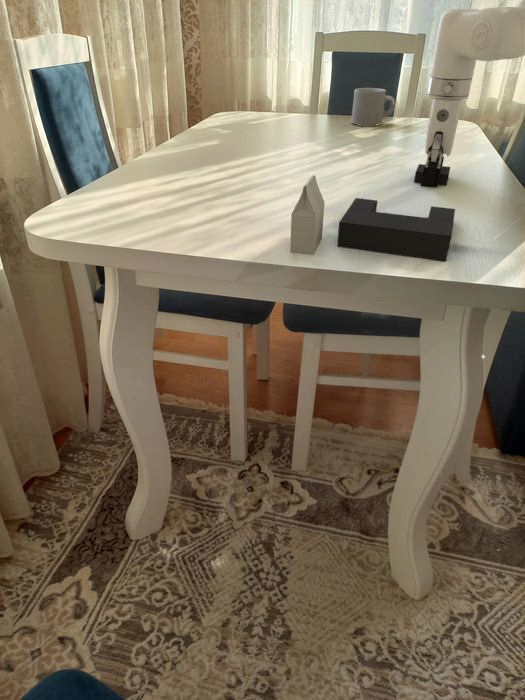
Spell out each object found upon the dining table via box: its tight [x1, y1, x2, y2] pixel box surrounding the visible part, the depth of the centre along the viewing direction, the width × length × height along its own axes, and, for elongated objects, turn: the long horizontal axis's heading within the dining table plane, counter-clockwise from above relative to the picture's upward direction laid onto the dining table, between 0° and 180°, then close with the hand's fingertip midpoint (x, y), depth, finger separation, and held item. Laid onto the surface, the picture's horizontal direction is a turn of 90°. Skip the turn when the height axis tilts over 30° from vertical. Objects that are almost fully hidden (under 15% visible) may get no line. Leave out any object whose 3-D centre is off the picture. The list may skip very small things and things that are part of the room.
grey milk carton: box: [289, 174, 326, 255], centre depth 75 cm, size 4×7×10 cm, turn 164°
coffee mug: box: [350, 87, 396, 125], centre depth 160 cm, size 13×10×10 cm
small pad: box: [413, 163, 451, 187], centre depth 102 cm, size 6×6×4 cm
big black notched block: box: [336, 197, 456, 262], centre depth 79 cm, size 16×13×4 cm
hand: (430, 181), depth 102 cm, fingers open, 9 cm apart
